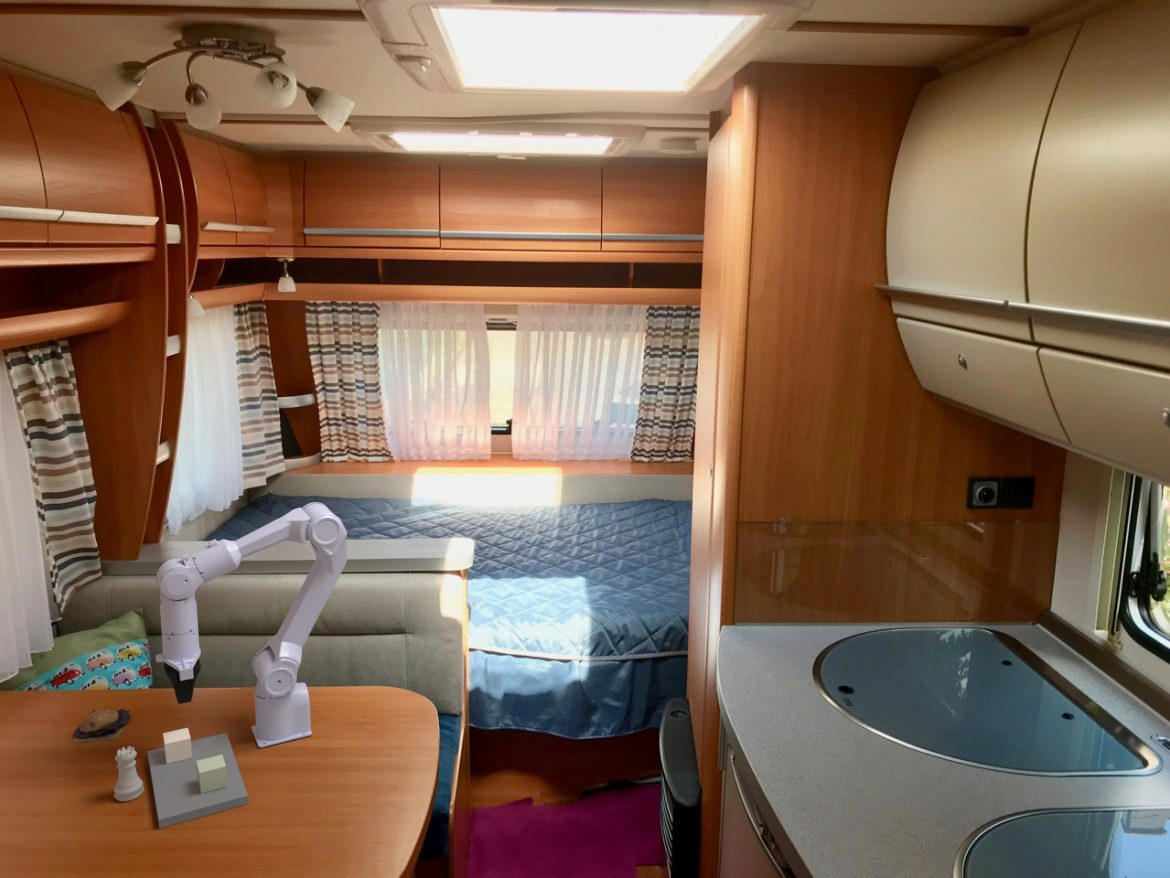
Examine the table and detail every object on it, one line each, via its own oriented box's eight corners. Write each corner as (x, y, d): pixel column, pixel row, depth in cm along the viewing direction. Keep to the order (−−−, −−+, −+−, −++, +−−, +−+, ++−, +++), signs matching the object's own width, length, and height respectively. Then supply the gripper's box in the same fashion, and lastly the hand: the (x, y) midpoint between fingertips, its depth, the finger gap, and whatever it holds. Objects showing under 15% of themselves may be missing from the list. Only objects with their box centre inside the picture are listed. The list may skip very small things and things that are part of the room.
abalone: (118, 743, 157) (116, 724, 156) (67, 746, 156) (66, 727, 155) (137, 713, 167) (135, 696, 167) (90, 716, 166) (88, 699, 165)
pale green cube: (223, 774, 144) (222, 754, 143) (227, 786, 141) (226, 766, 140) (197, 781, 142) (196, 760, 141) (201, 793, 139) (199, 773, 138)
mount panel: (227, 740, 158) (225, 720, 157) (248, 803, 139) (246, 781, 138) (148, 759, 151) (146, 738, 150) (159, 828, 132) (157, 805, 132)
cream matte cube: (189, 746, 152) (187, 727, 152) (192, 757, 149) (190, 738, 148) (164, 752, 150) (162, 733, 150) (166, 763, 147) (165, 744, 146)
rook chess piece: (131, 804, 138) (127, 759, 137) (107, 800, 139) (103, 755, 138) (150, 788, 143) (146, 744, 141) (127, 785, 143) (123, 741, 142)
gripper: (150, 618, 152) (155, 688, 155) (157, 649, 140) (163, 725, 142) (194, 611, 156) (198, 680, 158) (204, 640, 143) (209, 715, 146)
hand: (184, 701), depth 150 cm, fingers closed
